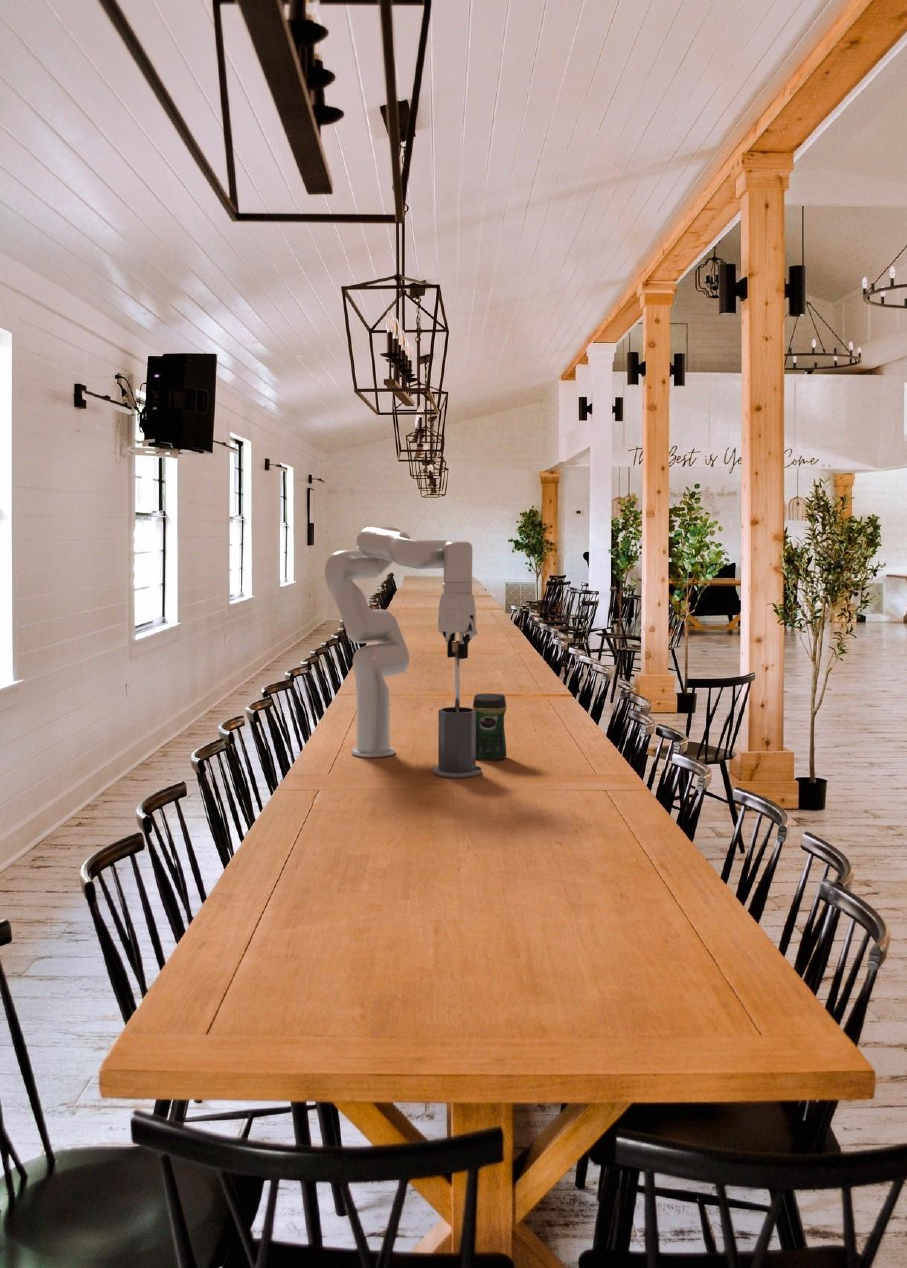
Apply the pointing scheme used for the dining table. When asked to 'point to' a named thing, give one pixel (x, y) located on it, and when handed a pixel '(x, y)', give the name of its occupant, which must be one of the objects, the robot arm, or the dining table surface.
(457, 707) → the plunger
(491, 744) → the coffee jar
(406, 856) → the dining table surface
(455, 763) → the press carafe
